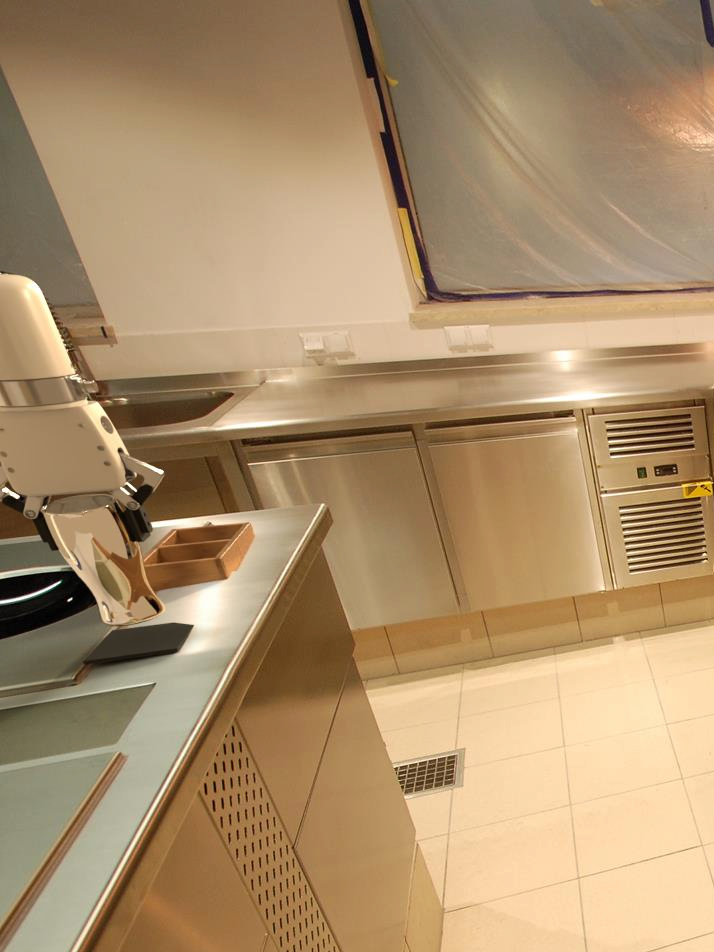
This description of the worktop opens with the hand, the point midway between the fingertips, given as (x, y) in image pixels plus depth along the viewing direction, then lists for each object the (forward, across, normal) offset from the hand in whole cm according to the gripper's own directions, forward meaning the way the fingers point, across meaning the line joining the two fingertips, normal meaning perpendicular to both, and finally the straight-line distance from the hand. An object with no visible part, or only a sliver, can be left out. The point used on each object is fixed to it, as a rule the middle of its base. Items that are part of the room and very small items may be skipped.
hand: (102, 541), depth 102 cm
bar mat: (+14, 0, 0) cm, 14 cm away
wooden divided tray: (+14, 0, -27) cm, 30 cm away
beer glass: (+10, 0, 0) cm, 10 cm away
